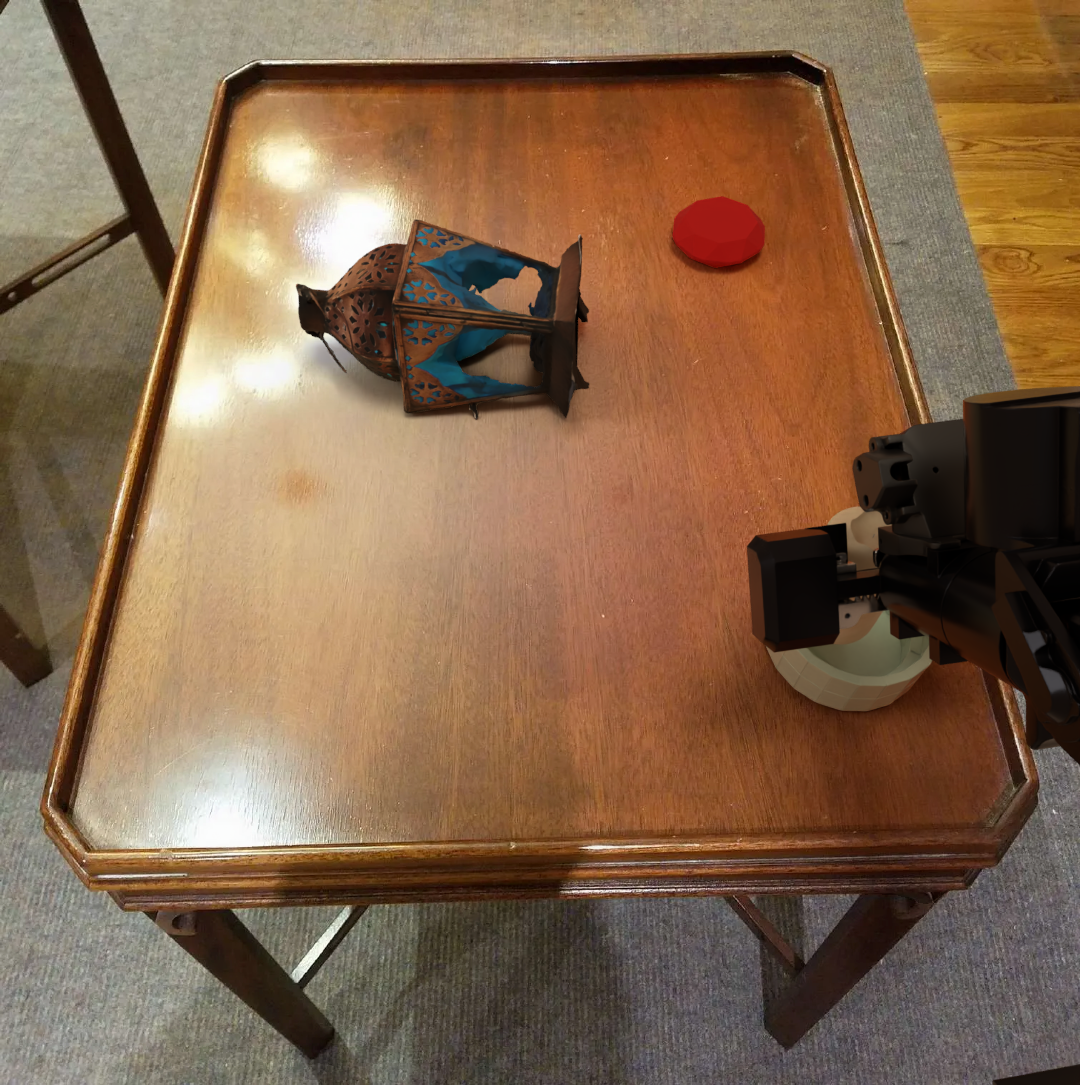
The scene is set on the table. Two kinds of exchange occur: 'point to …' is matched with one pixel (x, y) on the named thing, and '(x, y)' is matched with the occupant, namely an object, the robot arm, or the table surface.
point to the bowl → (856, 669)
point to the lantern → (449, 318)
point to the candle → (859, 560)
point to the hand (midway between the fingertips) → (854, 541)
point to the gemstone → (718, 232)
